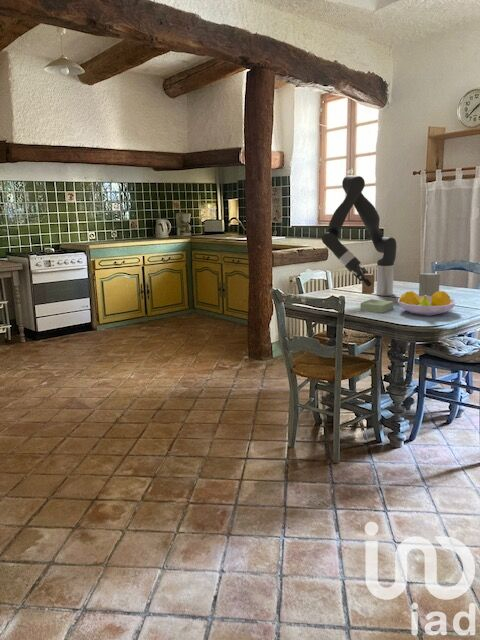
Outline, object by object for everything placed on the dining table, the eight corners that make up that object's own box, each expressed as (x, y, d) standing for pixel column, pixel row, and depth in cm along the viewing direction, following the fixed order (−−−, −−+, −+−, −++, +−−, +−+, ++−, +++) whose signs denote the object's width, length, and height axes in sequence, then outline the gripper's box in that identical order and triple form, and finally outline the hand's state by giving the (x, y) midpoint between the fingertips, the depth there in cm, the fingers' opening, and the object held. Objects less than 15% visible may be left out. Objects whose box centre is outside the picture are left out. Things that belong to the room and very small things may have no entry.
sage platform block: (371, 306, 268) (371, 299, 268) (392, 309, 261) (393, 301, 260) (360, 310, 260) (360, 303, 259) (382, 313, 252) (382, 305, 251)
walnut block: (364, 291, 276) (365, 273, 274) (374, 292, 274) (374, 273, 271) (361, 293, 272) (362, 274, 270) (371, 294, 269) (371, 275, 267)
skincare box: (425, 305, 266) (427, 274, 263) (417, 302, 273) (418, 273, 270) (439, 303, 269) (441, 273, 265) (431, 301, 275) (432, 272, 272)
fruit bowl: (408, 305, 268) (409, 283, 265) (462, 310, 251) (464, 288, 248) (386, 315, 247) (386, 291, 244) (443, 322, 230) (445, 297, 227)
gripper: (350, 258, 266) (372, 282, 263) (358, 254, 278) (380, 277, 275) (340, 267, 270) (362, 291, 267) (349, 264, 282) (370, 286, 279)
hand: (371, 284), depth 271 cm, fingers closed on walnut block, 5 cm apart
